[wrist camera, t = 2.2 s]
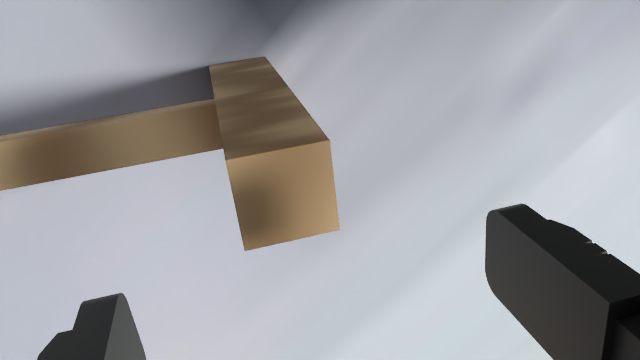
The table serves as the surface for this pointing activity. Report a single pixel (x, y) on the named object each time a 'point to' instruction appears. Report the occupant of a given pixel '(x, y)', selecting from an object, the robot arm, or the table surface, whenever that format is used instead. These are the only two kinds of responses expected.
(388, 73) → the table surface
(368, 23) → the table surface
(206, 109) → the oak rake
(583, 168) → the table surface
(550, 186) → the table surface
